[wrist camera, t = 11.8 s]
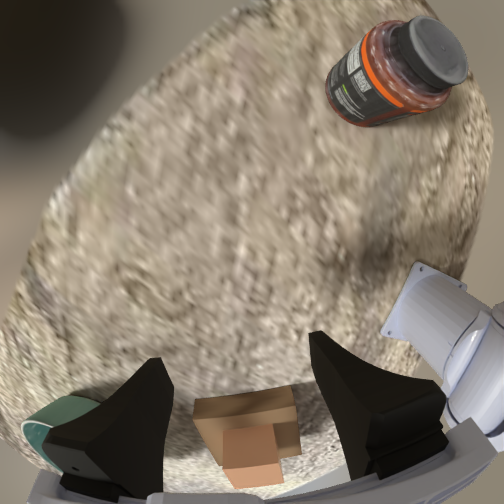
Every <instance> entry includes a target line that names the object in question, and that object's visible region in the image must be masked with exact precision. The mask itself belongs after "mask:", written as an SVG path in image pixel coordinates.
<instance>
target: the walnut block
mask: <svg viewBox="0 0 504 504" xmlns="http://www.w3.org/2000/svg"><path fill="white" fill-rule="evenodd" d="M192 420H193V422H194V424H195V426H196V428H197V429H198V431H199V433H200V435H201V437H202V438H203V440H204V442H205V444H206V445H207V447H208V449H209V451H210V452H211V454H212V456H213V457H214V459H215V461H216V462H217V464H218V465H219V466H223V430H231V429H240V428H247V427H254V426H261V425H267V424H273V428H274V432H275V436H276V440H277V444H278V448H279V455H280V459H282V458H287V457H292V456H297V455H302V451H301V443H300V435H299V427H298V420H297V412H296V405H295V401H294V397H293V393H292V390H291V386H290V385H289V386H284V387H279V388H274V389H268V390H263V391H257V392H251V393H244V394H237V395H230V396H222V397H213V398H204V399H195V404H194V411H193V419H192Z"/></svg>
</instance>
